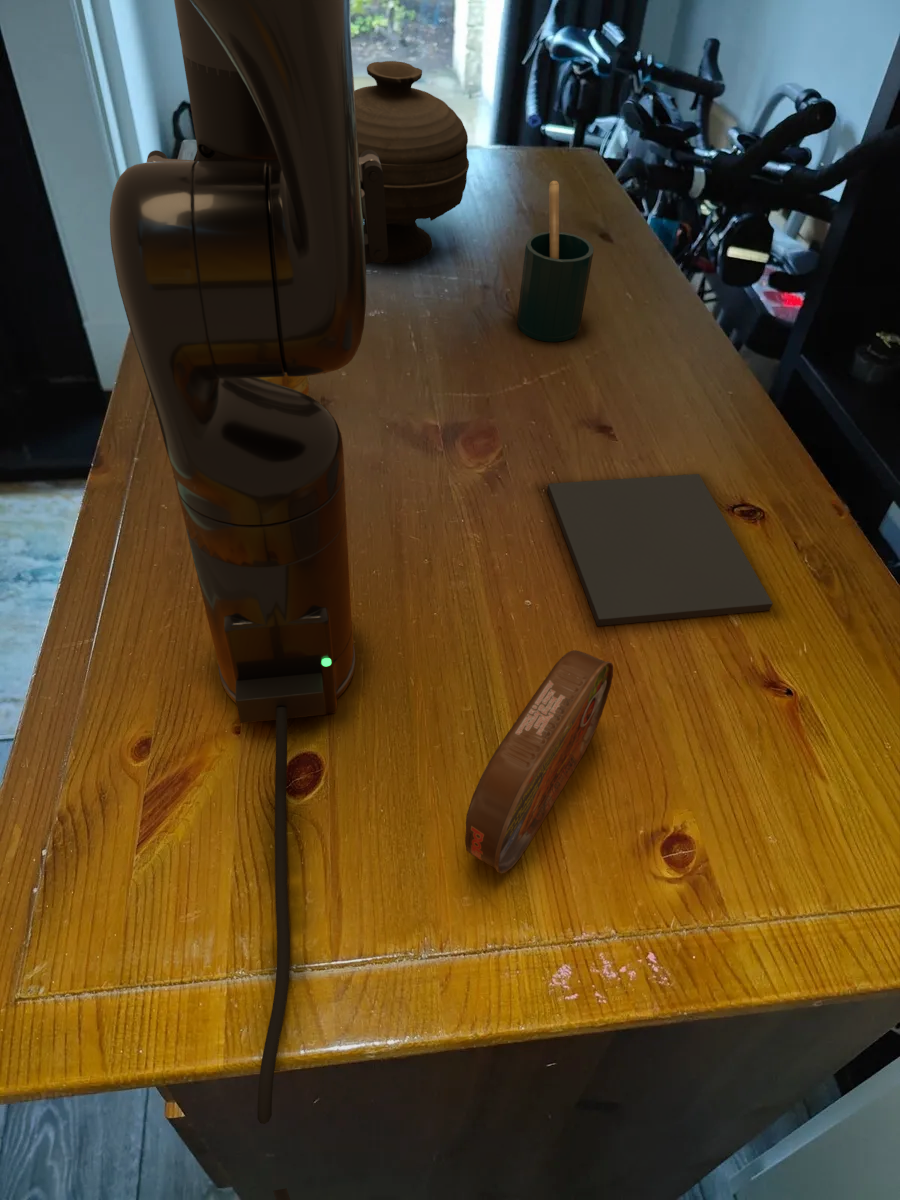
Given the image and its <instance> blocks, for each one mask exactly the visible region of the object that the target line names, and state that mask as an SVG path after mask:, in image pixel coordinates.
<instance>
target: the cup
mask: <svg viewBox="0 0 900 1200" xmlns="http://www.w3.org/2000/svg"><path fill="white" fill-rule="evenodd" d="M594 249H595V248H594V246H593V244H592V243H591V242H590V241H588V240H587V239H586V238H584V237H582V236H579V235H577V234H574V233H570V232H566V231H559V259H554V258H550V239H549V231H543V232H537V233H535V234H533V235H530V236H529V237H528V239H526V242H525V248H524V257H523V266H522V275H521V283H520V291H519V299H518V300H519V302H518V307H517V316H516V325H517V328H518V329H519V331H520V332H521V333H522V334H524V335H525V336H527V337H529V338H531V339H533V340H537V341H541V342H547V343H560V342H566V341H569V340H571V339H573V338H575V337H576V336H577V335H578V334H579V332H580V329H581V325H582V319H583V313H584V307H585V302H586V296H587V290H588V285H589V279H590V273H591V268H592V262H593V256H594Z"/></svg>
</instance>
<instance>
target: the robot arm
mask: <svg viewBox="0 0 900 1200" xmlns="http://www.w3.org/2000/svg"><path fill="white" fill-rule="evenodd" d="M173 2H174V9H175V14H176V20H177V23H176V24H177V29H178V33H179V40H180V45H181V55H182V59H183V60H182V61H183V67H184V72H185V79H186V84H187V92H188V99H189V104H190V111H191V117H192V124H193V129H194V130H193V131H194V135H195V144H196V153H195V155H194V158H193V159H182V158H181V159H180V158H179V159H178V158H168V156H167V154H166V153H164V152H163V151H162V150H161V151H160V150H157V149H156V150H152V151H150V152H149V153H148V155H147V158H146V162H141V163H136V164H134V165H131V166H130V167H127V168H126V169H125V170H124V171H123V172H122V173H121V174H120V176H119V177H118V179H117V181H116V184H115V186H114V189H113V191H112V195H111V201H110V207H109V235H110V246H111V251H112V252H111V253H112V259H113V263H114V264H113V266H114V268H115V269H114V270H115V275H116V280H117V281H116V282H117V286H118V289H119V293H120V297H121V300H122V303H123V309H124V312H125V315H126V318H127V322H128V326H129V329H130V332H131V335H132V338H133V342H134V344H135V348H136V351H137V354H138V357H139V361H140V363H141V366H142V370H143V373H144V375H145V380H146V382H147V385H148V388H149V392H150V395H151V399H152V402H153V405H154V406H153V407H154V409H155V412H156V416H157V419H158V424H159V427H160V431H161V435H162V439H163V443H164V447H165V450H166V455H167V458H168V461H169V463H170V467H171V469H172V473H173V474H172V475H173V477H174V478H173V479H174V483H175V486H176V491H177V496H178V499H179V503H180V508H181V512H182V516H183V520H184V525H185V530H186V533H187V534H186V535H187V538H188V543H189V546H190V551H191V555H192V559H193V563H194V567H195V572H196V575H197V580H198V585H199V588H200V593H201V597H202V601H203V605H204V609H205V614H206V617H207V622H208V627H209V630H210V634H211V639H212V643H213V647H214V651H215V654H216V659H217V662H218V673H219V678H220V681H221V685H222V687H223V689H224V691H225V693H226V695H227V696H228V697H229V698H230V700H232V701H233V703H235V704H236V705H235V706H236V709H237V714H238V718H239V719H238V720H239V722H240V724H246V723H255V722H266V721H275V772H274V773H275V775H274V778H275V779H274V898H275V899H274V901H275V921H276V922H275V924H276V971H275V972H276V973H275V984H274V992H273V993H274V994H273V999H272V1000H273V1001H272V1006H271V1013H270V1018H269V1023H268V1027H267V1032H266V1037H265V1041H264V1045H263V1052H262V1057H261V1063H260V1068H259V1069H260V1070H259V1076H258V1077H259V1078H258V1089H257V1120H258V1122H259V1124H262V1125H266V1124H267V1123H269V1122H270V1120H271V1118H272V1115H273V1114H272V1113H273V1112H272V1111H273V1110H272V1109H273V1091H274V1090H273V1088H274V1077H275V1068H276V1061H277V1055H278V1050H279V1045H280V1040H281V1034H282V1030H283V1025H284V1019H285V1015H286V1008H287V1002H288V993H289V984H290V968H291V966H290V965H291V933H290V912H289V911H290V910H289V894H288V887H289V886H288V839H287V838H288V837H287V836H288V835H287V830H288V829H287V826H288V825H287V790H288V788H287V787H288V786H287V785H288V783H287V782H288V778H287V777H288V719H294V718H304V717H305V718H306V717H313V716H324V715H326V714H329V715H330V714H334V713H336V712H337V711H338V705H337V704H338V703H337V702H338V698H339V697H340V696H342V694H343V693H344V692H345V690H346V689H347V688H348V687H349V685H350V683H351V682H352V679H353V677H354V674H355V670H356V650H355V646H354V634H353V619H352V601H351V600H352V599H351V580H350V562H349V560H350V559H349V543H348V542H349V541H348V525H347V523H348V522H347V521H348V520H347V497H346V496H347V495H346V481H345V480H346V475H345V458H344V457H345V456H344V444H343V443H344V442H343V437H342V433H341V430H340V427H339V425H338V422H337V421H336V419H335V417H334V416H333V414H332V413H331V412H330V411H329V409H327V408H326V407H325V406H324V405H322V404H321V403H320V402H319V401H317V400H316V399H315V398H313V397H311V396H310V395H309V396H307V395H305V394H303V393H301V392H299V391H296V390H294V389H291V388H288V387H285V386H282V385H279V384H276V383H273V382H270V381H267V380H264V379H261V378H260V377H284V376H285V375H286V373H287V375H288V376H290V377H293V376H308V377H309V376H317V375H321V374H328V373H331V372H335V371H338V370H340V369H343V368H344V367H346V366H347V365H348V364H350V363H351V361H352V360H353V359H354V357H355V356H356V354H357V352H358V349H359V346H360V345H361V342H362V337H363V333H364V328H365V319H366V310H367V265H368V264H371V263H373V262H374V263H376V264H382V263H383V262H384V261H385V260H386V259H387V257H388V242H387V226H386V210H385V194H384V178H383V172H382V167H381V164H380V160H379V157H378V155H377V153H376V152H374V151H373V150H366V151H364V152H363V153H362V154H361V155H360V157H359V152H358V138H357V123H356V108H355V93H354V91H355V78H354V63H353V62H354V61H353V45H352V42H353V41H352V23H351V22H352V21H351V0H173ZM362 199H363V210H362ZM363 211H364V219H363ZM364 225H365V234H364ZM272 1192H273V1196H274V1198H275V1200H291V1198H290V1195H289V1194H290V1193H289V1191H288V1188H287V1187H286V1188H280V1189H276V1190H272Z"/></svg>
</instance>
